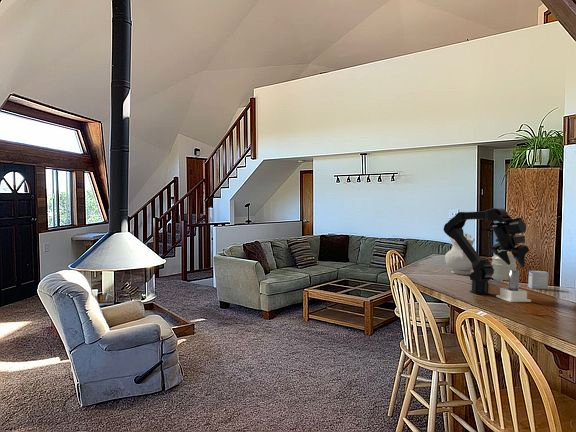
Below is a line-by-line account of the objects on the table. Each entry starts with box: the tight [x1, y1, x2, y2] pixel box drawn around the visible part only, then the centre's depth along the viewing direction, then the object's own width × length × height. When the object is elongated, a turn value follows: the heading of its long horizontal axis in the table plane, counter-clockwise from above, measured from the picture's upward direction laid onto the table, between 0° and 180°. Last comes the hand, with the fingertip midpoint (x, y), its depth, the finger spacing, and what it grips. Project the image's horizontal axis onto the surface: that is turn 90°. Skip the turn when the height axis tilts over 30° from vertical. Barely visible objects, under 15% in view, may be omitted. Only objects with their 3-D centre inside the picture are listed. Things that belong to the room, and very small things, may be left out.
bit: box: [507, 269, 520, 291], centre depth 196 cm, size 4×4×12 cm
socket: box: [495, 287, 532, 303], centre depth 196 cm, size 10×10×4 cm
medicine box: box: [527, 270, 550, 290], centre depth 225 cm, size 8×4×9 cm, turn 84°
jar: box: [490, 251, 517, 281], centre depth 253 cm, size 13×13×18 cm
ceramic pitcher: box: [444, 232, 476, 276], centre depth 268 cm, size 22×20×25 cm
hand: (516, 265), depth 201 cm, fingers open, 9 cm apart
